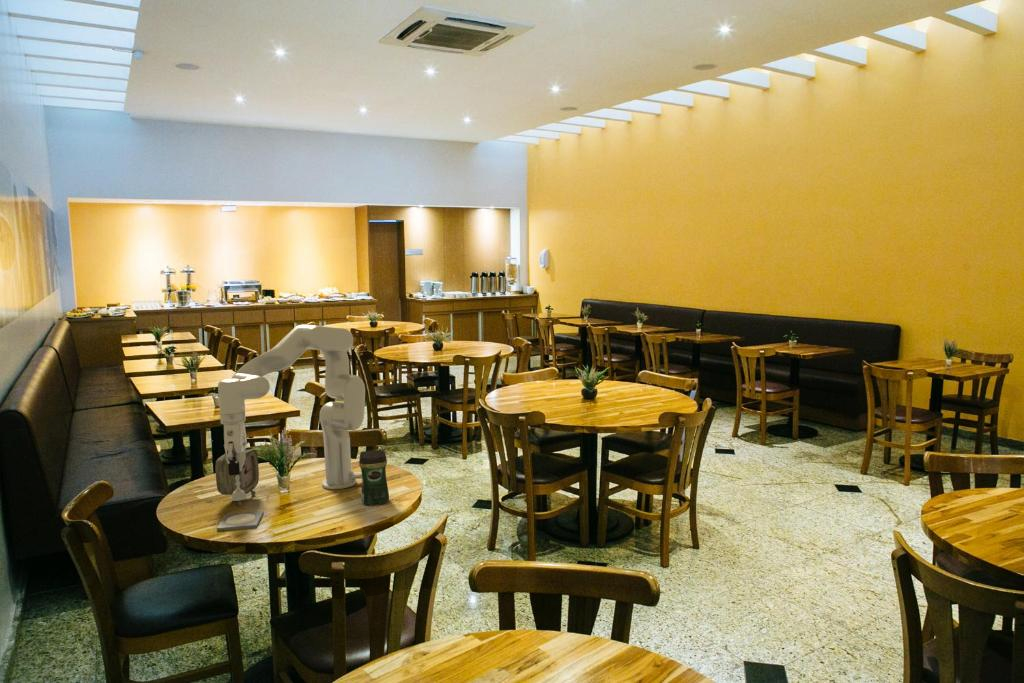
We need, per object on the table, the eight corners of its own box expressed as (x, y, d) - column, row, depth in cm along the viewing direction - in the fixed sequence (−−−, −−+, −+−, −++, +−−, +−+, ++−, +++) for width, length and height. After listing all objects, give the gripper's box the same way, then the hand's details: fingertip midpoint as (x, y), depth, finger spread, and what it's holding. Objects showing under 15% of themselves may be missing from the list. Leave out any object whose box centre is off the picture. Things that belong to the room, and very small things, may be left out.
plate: (263, 513, 230) (263, 510, 230) (256, 527, 219) (256, 524, 218) (226, 516, 228) (225, 513, 228) (216, 531, 217) (216, 527, 216)
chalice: (231, 494, 226) (227, 441, 223) (252, 493, 226) (249, 440, 224) (224, 502, 218) (220, 448, 216) (246, 501, 219) (242, 447, 217)
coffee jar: (387, 496, 244) (385, 446, 242) (390, 504, 237) (387, 452, 234) (360, 499, 242) (357, 449, 239) (361, 507, 234) (359, 455, 232)
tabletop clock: (241, 508, 236) (236, 438, 232) (216, 508, 236) (210, 438, 233) (260, 493, 250) (255, 427, 247) (236, 493, 251) (231, 427, 247)
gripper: (239, 423, 211) (243, 479, 213) (250, 410, 228) (254, 462, 230) (213, 424, 210) (218, 481, 212) (227, 411, 227) (231, 464, 229)
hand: (236, 470), depth 221 cm, fingers closed on chalice, 6 cm apart
